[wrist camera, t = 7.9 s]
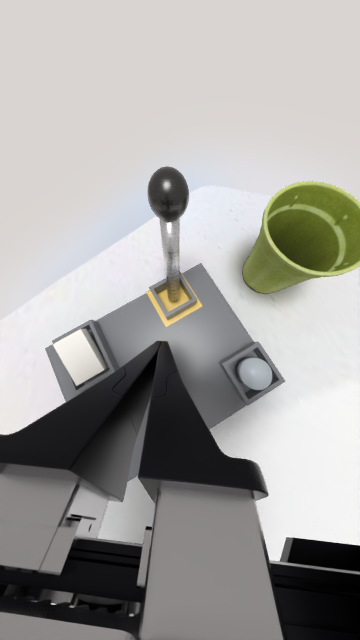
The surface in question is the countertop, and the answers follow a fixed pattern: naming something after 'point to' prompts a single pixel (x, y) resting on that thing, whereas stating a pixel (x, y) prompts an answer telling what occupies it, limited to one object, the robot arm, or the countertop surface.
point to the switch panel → (177, 347)
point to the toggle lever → (169, 219)
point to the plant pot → (305, 237)
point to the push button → (254, 373)
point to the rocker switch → (80, 356)
